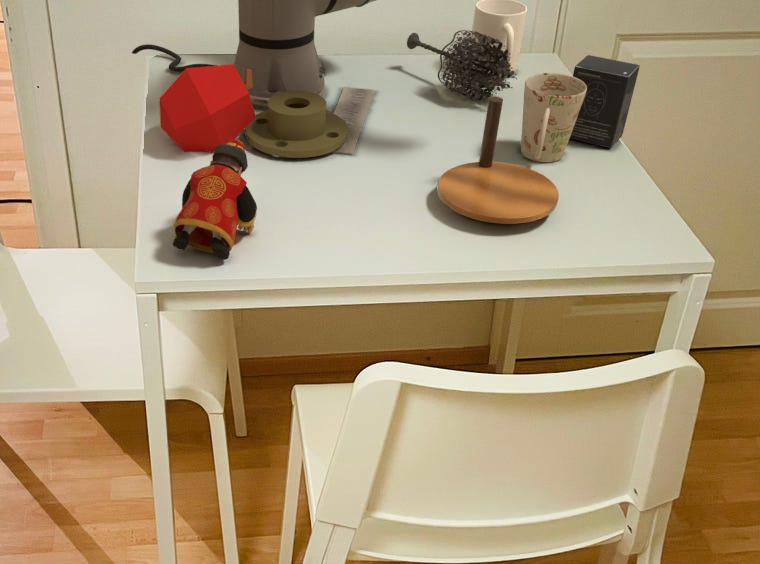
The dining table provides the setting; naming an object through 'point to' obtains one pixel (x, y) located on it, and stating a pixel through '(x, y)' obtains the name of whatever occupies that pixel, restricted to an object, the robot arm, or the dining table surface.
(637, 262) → the dining table surface
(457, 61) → the massage brush
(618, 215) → the dining table surface
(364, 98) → the nameplate
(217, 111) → the red faceted polyhedron
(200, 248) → the figurine
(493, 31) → the cup
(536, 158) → the mug
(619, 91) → the box
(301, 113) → the flange
